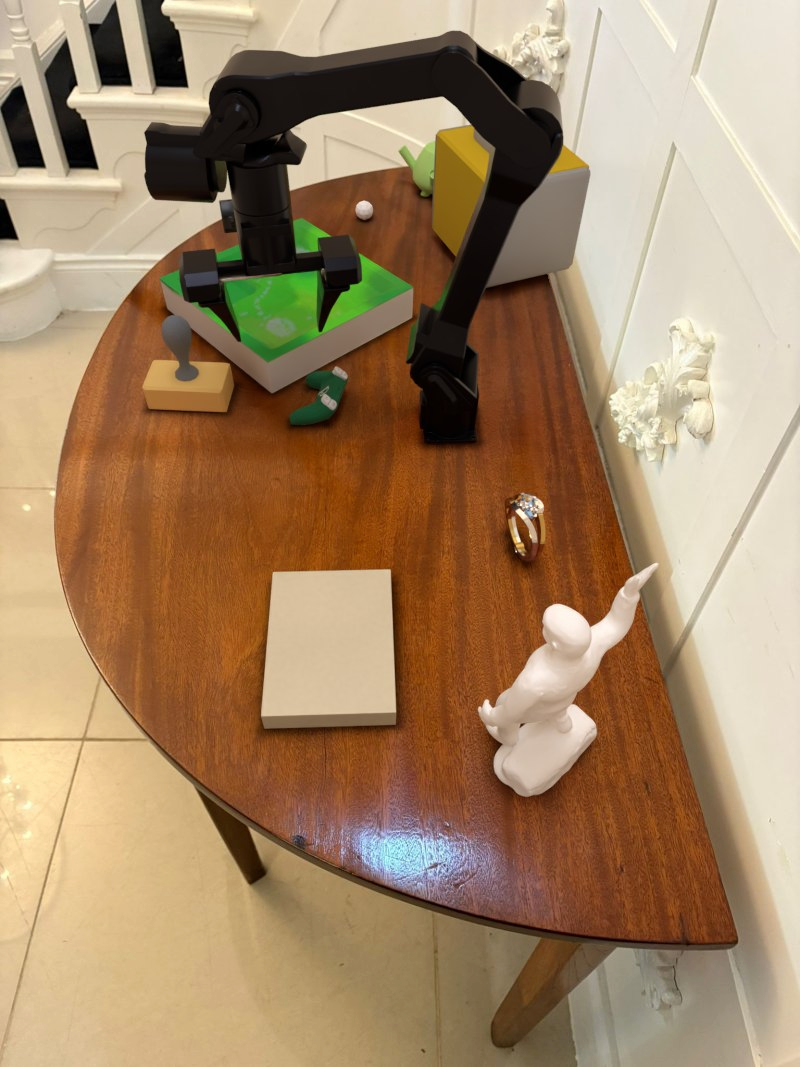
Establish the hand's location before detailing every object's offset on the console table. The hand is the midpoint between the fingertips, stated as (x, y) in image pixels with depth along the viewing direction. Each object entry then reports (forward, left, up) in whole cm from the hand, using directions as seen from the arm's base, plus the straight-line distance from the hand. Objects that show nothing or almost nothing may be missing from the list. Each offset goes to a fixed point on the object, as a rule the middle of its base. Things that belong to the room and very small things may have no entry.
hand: (279, 334), depth 88 cm
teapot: (-23, -57, -12) cm, 63 cm away
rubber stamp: (+13, -4, -12) cm, 18 cm away
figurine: (-24, +46, -12) cm, 53 cm away
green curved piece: (-4, -1, -12) cm, 13 cm away
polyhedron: (-10, -48, -12) cm, 51 cm away
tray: (+1, -22, -12) cm, 25 cm away
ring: (-26, +23, -12) cm, 37 cm away
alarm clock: (-31, -36, -12) cm, 49 cm away
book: (-6, +35, -12) cm, 37 cm away
